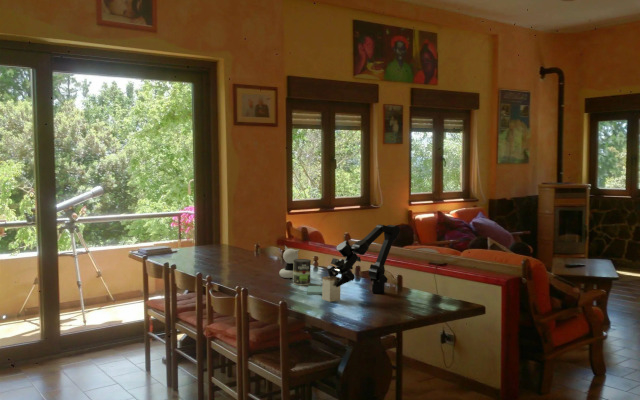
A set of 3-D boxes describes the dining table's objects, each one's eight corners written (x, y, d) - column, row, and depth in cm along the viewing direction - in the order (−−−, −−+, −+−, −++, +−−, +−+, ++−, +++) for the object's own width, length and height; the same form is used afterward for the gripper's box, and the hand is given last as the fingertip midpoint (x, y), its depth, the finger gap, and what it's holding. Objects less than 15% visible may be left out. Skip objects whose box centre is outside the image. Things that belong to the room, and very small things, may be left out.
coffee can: (312, 285, 341) (312, 261, 340) (295, 285, 338) (295, 261, 337) (308, 281, 351) (308, 258, 350) (291, 282, 348) (291, 258, 347)
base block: (334, 289, 331) (334, 286, 331) (334, 295, 316) (334, 292, 316) (308, 289, 332) (308, 285, 332) (306, 295, 317) (306, 291, 317)
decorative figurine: (306, 276, 368) (307, 244, 367) (296, 280, 355) (296, 247, 354) (286, 273, 374) (286, 243, 373) (275, 277, 361) (275, 245, 360)
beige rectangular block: (332, 297, 310) (333, 275, 309) (340, 300, 304) (340, 278, 303) (321, 299, 306) (322, 277, 305) (329, 301, 300) (329, 279, 299)
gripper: (330, 250, 314) (312, 272, 309) (350, 255, 299) (332, 278, 293) (341, 263, 319) (324, 285, 313) (362, 269, 304) (345, 292, 298)
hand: (331, 285), depth 304 cm, fingers open, 9 cm apart
